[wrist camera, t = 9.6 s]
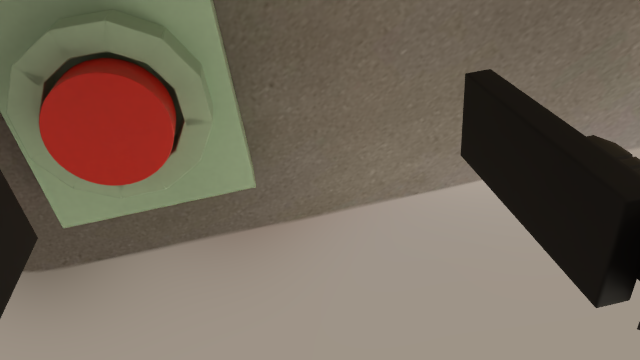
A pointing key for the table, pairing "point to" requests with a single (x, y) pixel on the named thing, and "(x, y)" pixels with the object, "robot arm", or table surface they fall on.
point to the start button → (108, 122)
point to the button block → (149, 53)
